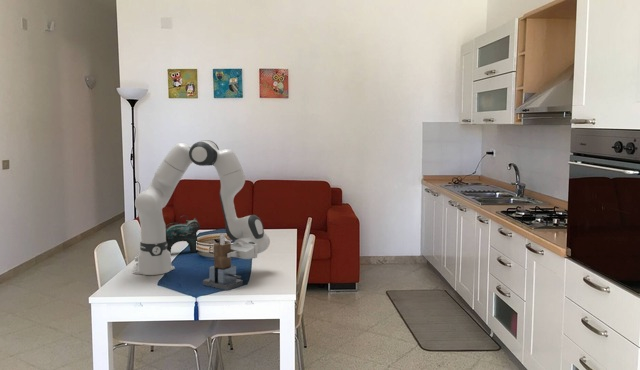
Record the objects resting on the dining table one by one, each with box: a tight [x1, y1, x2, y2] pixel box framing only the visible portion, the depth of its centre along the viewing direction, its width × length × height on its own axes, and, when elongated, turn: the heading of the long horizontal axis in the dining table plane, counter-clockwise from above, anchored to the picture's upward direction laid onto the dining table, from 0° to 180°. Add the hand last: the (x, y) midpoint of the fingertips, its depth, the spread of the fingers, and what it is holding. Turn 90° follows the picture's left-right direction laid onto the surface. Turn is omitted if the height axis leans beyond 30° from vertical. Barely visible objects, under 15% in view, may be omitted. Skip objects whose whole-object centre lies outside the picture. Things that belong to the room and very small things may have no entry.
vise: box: [202, 233, 244, 291], centre depth 241 cm, size 17×10×22 cm, turn 57°
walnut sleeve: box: [213, 241, 232, 269], centre depth 242 cm, size 5×5×10 cm
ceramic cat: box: [166, 215, 200, 254], centre depth 297 cm, size 20×6×20 cm, turn 122°
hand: (221, 254), depth 241 cm, fingers closed on walnut sleeve, 5 cm apart
